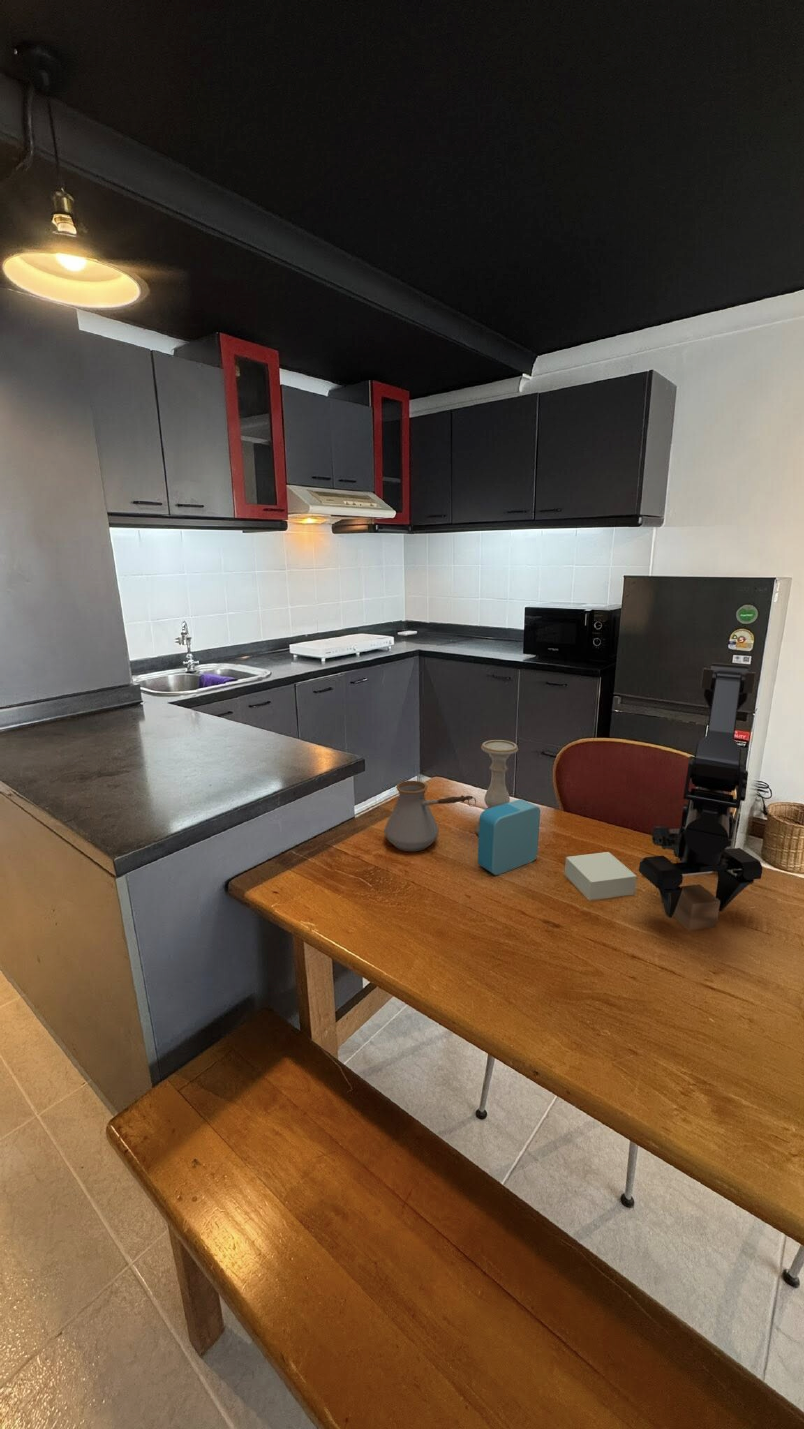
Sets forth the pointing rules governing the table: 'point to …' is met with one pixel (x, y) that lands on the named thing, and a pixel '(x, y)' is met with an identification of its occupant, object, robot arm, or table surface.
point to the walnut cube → (697, 908)
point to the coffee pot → (414, 817)
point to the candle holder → (497, 772)
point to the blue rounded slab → (508, 836)
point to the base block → (600, 876)
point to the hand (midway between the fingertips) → (693, 913)
